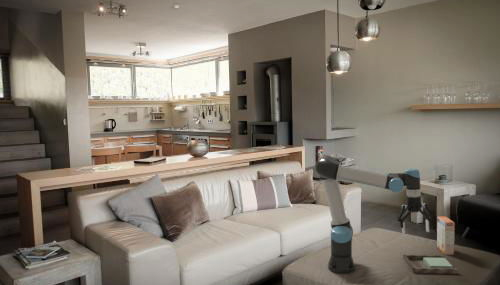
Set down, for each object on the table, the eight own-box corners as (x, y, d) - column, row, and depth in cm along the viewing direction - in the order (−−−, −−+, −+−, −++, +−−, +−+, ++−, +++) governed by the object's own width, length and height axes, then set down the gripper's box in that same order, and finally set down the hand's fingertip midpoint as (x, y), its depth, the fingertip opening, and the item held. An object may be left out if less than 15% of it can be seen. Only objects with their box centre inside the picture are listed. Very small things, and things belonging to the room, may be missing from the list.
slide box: (413, 273, 215) (413, 268, 215) (403, 259, 235) (403, 254, 235) (457, 274, 212) (457, 269, 212) (443, 260, 232) (443, 255, 232)
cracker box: (454, 255, 239) (455, 222, 237) (444, 255, 240) (444, 222, 238) (446, 247, 253) (446, 216, 251) (436, 247, 254) (436, 215, 252)
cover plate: (430, 270, 218) (430, 265, 218) (423, 261, 230) (423, 257, 230) (452, 270, 216) (452, 266, 216) (444, 261, 228) (444, 257, 228)
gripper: (393, 198, 219) (395, 235, 221) (438, 195, 218) (440, 232, 219) (389, 196, 227) (391, 231, 228) (433, 193, 225) (434, 228, 227)
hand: (415, 232), depth 224 cm, fingers open, 13 cm apart
